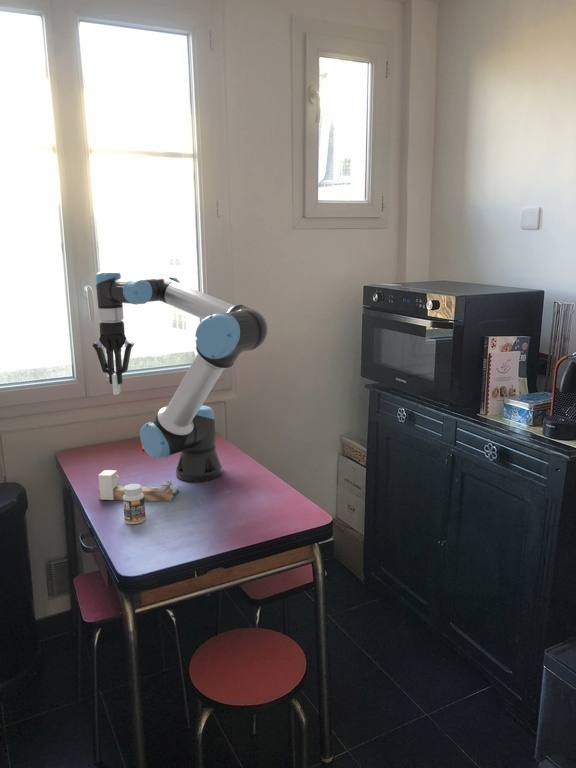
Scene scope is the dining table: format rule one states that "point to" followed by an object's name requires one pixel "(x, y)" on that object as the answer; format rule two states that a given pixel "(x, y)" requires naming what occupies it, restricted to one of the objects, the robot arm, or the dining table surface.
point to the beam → (145, 494)
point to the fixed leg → (165, 486)
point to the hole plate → (174, 489)
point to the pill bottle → (134, 504)
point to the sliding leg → (107, 484)
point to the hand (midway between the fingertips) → (116, 393)
